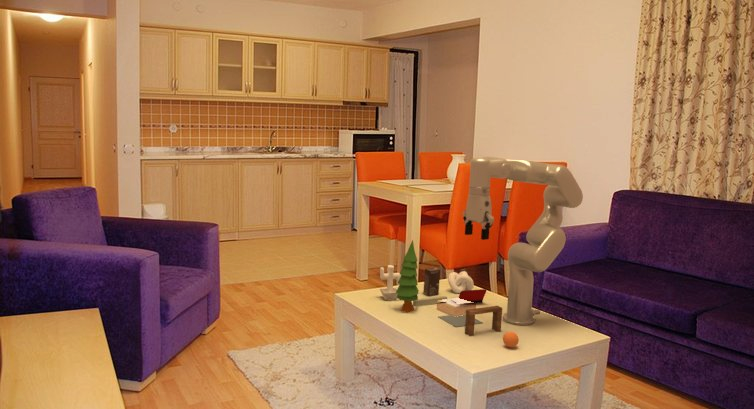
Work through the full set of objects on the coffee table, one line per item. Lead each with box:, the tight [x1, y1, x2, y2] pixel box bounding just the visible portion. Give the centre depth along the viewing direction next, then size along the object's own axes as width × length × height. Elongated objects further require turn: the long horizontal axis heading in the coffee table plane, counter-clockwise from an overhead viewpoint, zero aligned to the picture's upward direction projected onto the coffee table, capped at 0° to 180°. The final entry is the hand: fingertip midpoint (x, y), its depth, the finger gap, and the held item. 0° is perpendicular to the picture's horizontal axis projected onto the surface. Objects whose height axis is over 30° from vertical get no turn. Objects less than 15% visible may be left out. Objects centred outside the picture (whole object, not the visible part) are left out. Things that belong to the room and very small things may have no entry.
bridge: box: [464, 305, 503, 337], centre depth 228 cm, size 3×14×9 cm, turn 117°
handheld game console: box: [458, 288, 487, 304], centre depth 266 cm, size 12×11×7 cm
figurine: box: [379, 264, 401, 301], centre depth 267 cm, size 7×9×15 cm
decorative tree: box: [396, 239, 419, 313], centre depth 250 cm, size 10×9×30 cm
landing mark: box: [437, 314, 484, 328], centre depth 242 cm, size 13×13×1 cm
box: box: [422, 267, 441, 297], centre depth 275 cm, size 6×4×12 cm
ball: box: [502, 331, 520, 348], centre depth 214 cm, size 6×6×6 cm
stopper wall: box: [412, 295, 448, 308], centre depth 262 cm, size 16×2×2 cm, turn 117°
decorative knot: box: [447, 270, 475, 294], centre depth 282 cm, size 11×12×9 cm
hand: (476, 236), depth 227 cm, fingers open, 9 cm apart
